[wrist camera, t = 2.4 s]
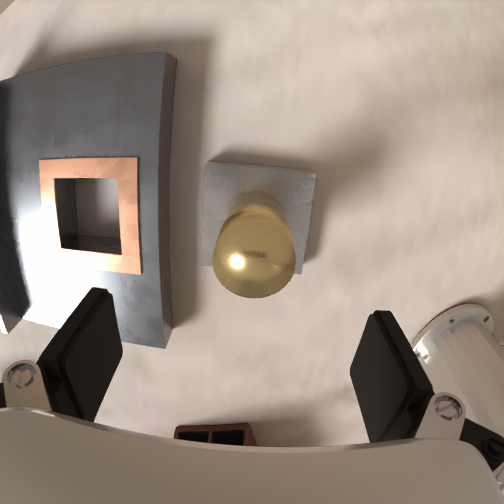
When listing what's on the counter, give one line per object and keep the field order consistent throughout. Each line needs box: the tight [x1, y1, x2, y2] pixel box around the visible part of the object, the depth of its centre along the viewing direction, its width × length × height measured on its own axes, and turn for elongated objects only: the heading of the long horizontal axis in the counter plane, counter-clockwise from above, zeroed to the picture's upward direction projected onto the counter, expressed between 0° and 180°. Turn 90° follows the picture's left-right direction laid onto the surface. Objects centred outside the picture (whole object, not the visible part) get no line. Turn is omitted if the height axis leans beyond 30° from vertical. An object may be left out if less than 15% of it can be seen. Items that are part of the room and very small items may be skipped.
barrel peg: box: [212, 192, 296, 298], centre depth 20 cm, size 4×4×7 cm
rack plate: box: [0, 52, 177, 349], centre depth 22 cm, size 18×24×6 cm
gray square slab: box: [201, 161, 317, 274], centre depth 24 cm, size 8×8×2 cm
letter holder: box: [174, 423, 258, 447], centre depth 33 cm, size 10×20×14 cm, turn 12°
